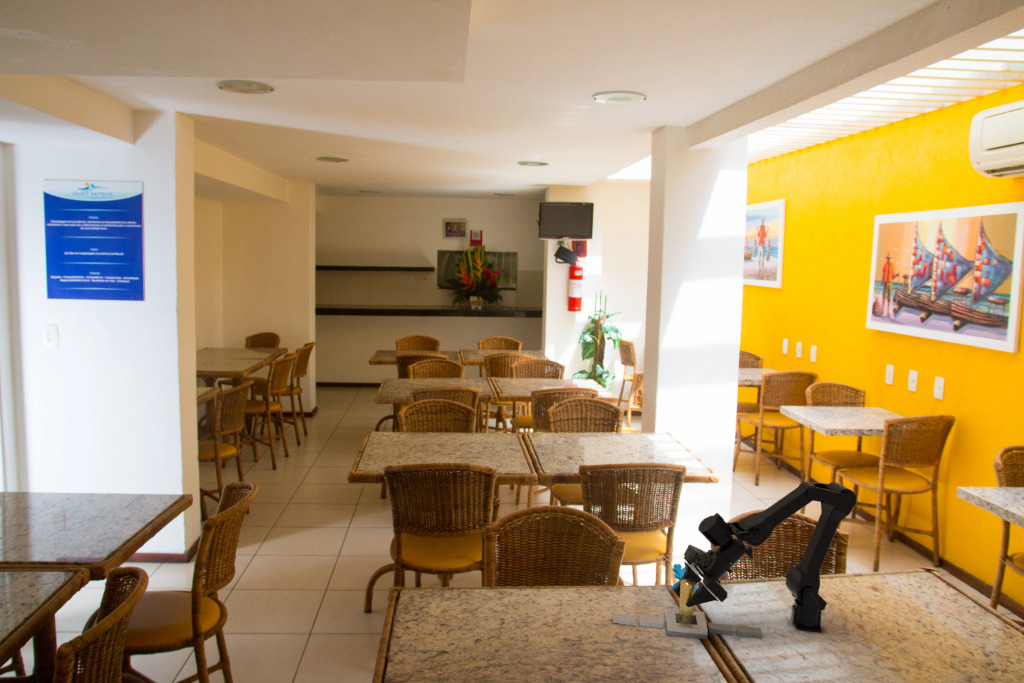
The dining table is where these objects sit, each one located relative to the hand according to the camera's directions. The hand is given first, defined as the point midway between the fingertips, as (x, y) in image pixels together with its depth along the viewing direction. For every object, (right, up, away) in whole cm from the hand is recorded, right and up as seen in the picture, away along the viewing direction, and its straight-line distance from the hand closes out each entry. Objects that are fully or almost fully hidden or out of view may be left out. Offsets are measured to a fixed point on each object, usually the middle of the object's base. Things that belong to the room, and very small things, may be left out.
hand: (681, 598), depth 184 cm
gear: (+6, -6, +23) cm, 24 cm away
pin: (+1, -8, +1) cm, 8 cm away
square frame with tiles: (+1, -8, +1) cm, 8 cm away
